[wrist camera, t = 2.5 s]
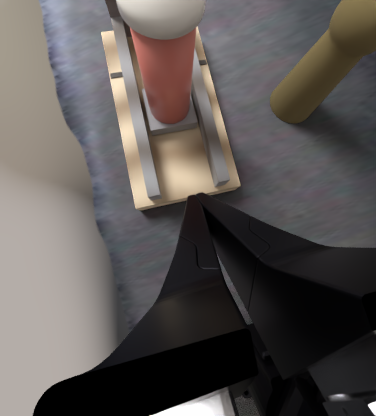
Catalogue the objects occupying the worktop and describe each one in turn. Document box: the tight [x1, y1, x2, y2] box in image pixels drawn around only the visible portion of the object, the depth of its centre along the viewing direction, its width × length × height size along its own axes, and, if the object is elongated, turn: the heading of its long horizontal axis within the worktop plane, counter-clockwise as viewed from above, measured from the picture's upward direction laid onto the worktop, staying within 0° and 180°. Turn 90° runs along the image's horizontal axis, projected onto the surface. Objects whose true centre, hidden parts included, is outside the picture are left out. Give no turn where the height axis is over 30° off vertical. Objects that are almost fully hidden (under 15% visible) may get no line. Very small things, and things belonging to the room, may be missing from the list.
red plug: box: [116, 0, 206, 136], centre depth 14 cm, size 5×5×10 cm
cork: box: [270, 0, 376, 123], centre depth 17 cm, size 6×6×11 cm
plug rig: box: [101, 0, 241, 211], centre depth 18 cm, size 22×12×6 cm, turn 13°
